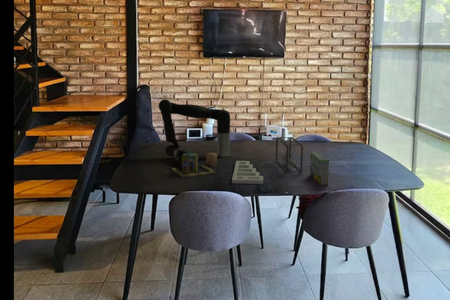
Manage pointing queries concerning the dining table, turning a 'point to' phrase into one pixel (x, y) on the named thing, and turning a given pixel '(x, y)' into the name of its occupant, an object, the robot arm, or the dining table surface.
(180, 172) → the tan flat bent strip
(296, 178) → the dining table surface
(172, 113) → the robot arm
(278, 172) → the dining table surface
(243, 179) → the holder
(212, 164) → the wooden block
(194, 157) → the chalk box
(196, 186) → the dining table surface
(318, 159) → the snack box
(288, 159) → the newton's cradle
